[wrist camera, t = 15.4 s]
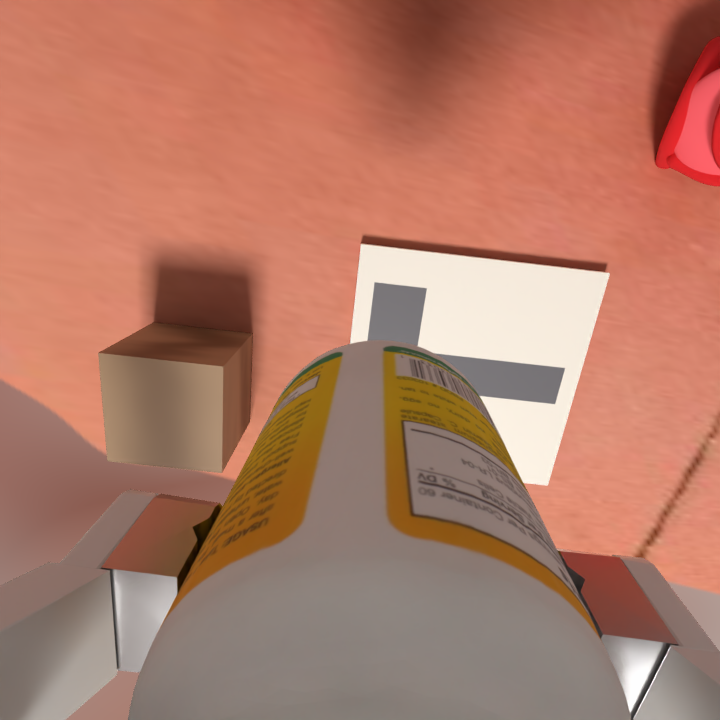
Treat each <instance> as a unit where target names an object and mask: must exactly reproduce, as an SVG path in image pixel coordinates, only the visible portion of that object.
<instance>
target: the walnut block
mask: <svg viewBox="0 0 720 720" xmlns="http://www.w3.org/2000/svg"><path fill="white" fill-rule="evenodd" d="M252 343H253V333H244V332H235V331H226V330H217V329H208V328H199V327H190V326H181V325H172V324H163V323H152V324H150V325H148V326H146V327H145V328H143V329H141V330H139V331H137V332H135V333H134V334H132V335H130V336H128V337H126V338H125V339H123V340H121V341H119V342H117V343H115V344H114V345H112V346H110V347H108V348H106V349H105V350H103V351H101V352H99V353H98V355H99V367H100V379H101V391H102V403H103V415H104V427H105V439H106V450H107V461H111V462H121V463H131V464H140V465H150V466H159V467H169V468H178V469H188V470H198V471H207V472H217V473H222V472H223V470H224V468H225V467H226V465H227V463H228V461H229V459H230V457H231V455H232V454H233V452H234V450H235V448H236V446H237V444H238V443H239V441H240V439H241V437H242V435H243V433H244V432H245V430H246V428H247V426H248V424H249V422H250V402H251V372H252Z"/></svg>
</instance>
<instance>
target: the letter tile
mask: <svg viewBox="0 0 720 720" xmlns="http://www.w3.org/2000/svg"><path fill="white" fill-rule="evenodd" d="M609 275H610V273H607V272H602V271H594V270H585V269H577V268H568V267H560V266H551V265H543V264H534V263H526V262H517V261H508V260H500V259H491V258H483V257H474V256H466V255H457V254H449V253H440V252H432V251H423V250H415V249H406V248H397V247H389V246H380V245H372V244H363V243H361V249H360V258H359V267H358V276H357V285H356V294H355V304H354V313H353V322H352V331H351V340H350V344H351V343H356V342H362V341H373V340H384V341H396V342H402V343H408V344H412V345H415V346H418V347H421V348H424V349H426V350H428V351H430V352H432V353H434V354H436V355H438V356H440V357H442V358H443V359H444V360H446V361H447V362H449V363H450V364H451V365H453V366H454V367H455V368H456V369H457V370H459V371H460V372H461V373H462V374H463V375H464V376H465V377H466V378H467V379H468V380H469V382H470V383H471V384H472V385H473V387H474V388H475V390H476V391H477V393H478V395H479V396H480V398H481V399H482V401H483V403H484V405H485V407H486V409H487V410H488V412H489V414H490V416H491V418H492V420H493V422H494V424H495V426H496V428H497V430H498V432H499V434H500V436H501V438H502V440H503V442H504V444H505V446H506V449H507V451H508V453H509V455H510V457H511V459H512V461H513V463H514V465H515V467H516V469H517V471H518V473H519V475H520V477H521V479H522V481H523V483H529V484H539V485H548V483H549V479H550V476H551V473H552V469H553V466H554V462H555V459H556V456H557V452H558V449H559V445H560V442H561V438H562V435H563V432H564V428H565V425H566V421H567V418H568V415H569V411H570V408H571V404H572V401H573V398H574V394H575V391H576V387H577V384H578V380H579V377H580V374H581V370H582V367H583V363H584V360H585V357H586V353H587V350H588V346H589V343H590V339H591V336H592V333H593V329H594V326H595V322H596V319H597V316H598V312H599V309H600V305H601V302H602V299H603V295H604V292H605V288H606V285H607V281H608V278H609Z"/></svg>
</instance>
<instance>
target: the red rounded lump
mask: <svg viewBox="0 0 720 720" xmlns="http://www.w3.org/2000/svg"><path fill="white" fill-rule="evenodd" d="M655 163H656V165H657V166H658V167H659V168H663V169H667V168H672V169H674V170H676V171H678V172H680V173H682V174H684V175H686V176H688V177H690V178H692V179H694V180H696V181H698V182H700V183H703V184H707V185H712V186H720V36H719V37H715V38H713V39H712V40H711V41H709V42H708V44H707V45H706V47H705V48H704V50H703V52H702V53H701V55H700V57H699V59H698V61H697V62H696V64H695V66H694V68H693V70H692V72H691V74H690V76H689V78H688V80H687V82H686V84H685V86H684V88H683V90H682V93H681V95H680V97H679V99H678V102H677V104H676V106H675V108H674V111H673V113H672V115H671V118H670V120H669V122H668V125H667V127H666V129H665V132H664V134H663V137H662V139H661V142H660V145H659V148H658V152H657V156H656V161H655Z"/></svg>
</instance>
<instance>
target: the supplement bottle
mask: <svg viewBox="0 0 720 720" xmlns="http://www.w3.org/2000/svg"><path fill="white" fill-rule="evenodd" d="M128 720H631V716H630V712H629V708H628V703H627V699H626V696H625V693H624V690H623V688H622V685H621V683H620V680H619V678H618V675H617V672H616V670H615V668H614V665H613V663H612V661H611V659H610V657H609V655H608V653H607V651H606V649H605V647H604V645H603V643H602V640H601V638H600V636H599V634H598V632H597V630H596V628H595V625H594V623H593V621H592V618H591V616H590V614H589V612H588V610H587V608H586V607H585V605H584V604H583V602H582V600H581V598H580V595H579V593H578V591H577V589H576V587H575V585H574V583H573V581H572V579H571V577H570V575H569V573H568V571H567V569H566V568H565V566H564V564H563V562H562V559H561V557H560V555H559V553H558V551H557V549H556V547H555V545H554V543H553V541H552V539H551V537H550V535H549V533H548V531H547V529H546V527H545V525H544V523H543V521H542V519H541V517H540V514H539V512H538V511H537V509H536V507H535V505H534V503H533V501H532V499H531V497H530V495H529V493H528V491H527V489H526V487H525V485H524V483H523V481H522V479H521V477H520V475H519V473H518V471H517V469H516V467H515V465H514V463H513V461H512V459H511V457H510V455H509V453H508V451H507V449H506V446H505V444H504V442H503V440H502V438H501V436H500V434H499V432H498V430H497V428H496V426H495V424H494V422H493V420H492V418H491V416H490V414H489V412H488V410H487V409H486V407H485V405H484V403H483V401H482V399H481V398H480V396H479V395H478V393H477V391H476V390H475V388H474V387H473V385H472V384H471V383H470V382H469V380H468V379H467V378H466V377H465V376H464V375H463V374H462V373H461V372H460V371H459V370H457V369H456V368H455V367H454V366H453V365H451V364H450V363H449V362H447V361H446V360H444V359H443V358H442V357H440V356H438V355H436V354H434V353H432V352H430V351H428V350H426V349H424V348H421V347H418V346H415V345H412V344H408V343H402V342H396V341H384V340H373V341H362V342H356V343H351V344H348V345H345V346H341V347H338V348H335V349H333V350H330V351H328V352H326V353H324V354H322V355H321V356H319V357H317V358H316V359H314V360H313V361H312V362H310V363H309V364H308V365H307V366H306V367H304V368H303V369H302V370H301V371H300V372H299V373H298V374H297V375H296V376H295V377H294V378H293V379H292V380H291V381H290V383H289V384H288V385H287V386H286V388H285V389H284V390H283V392H282V393H281V395H280V397H279V399H278V401H277V403H276V405H275V406H274V408H273V410H272V412H271V414H270V416H269V418H268V420H267V422H266V424H265V426H264V427H263V429H262V431H261V433H260V435H259V437H258V439H257V441H256V443H255V445H254V447H253V449H252V451H251V453H250V455H249V457H248V459H247V461H246V463H245V464H244V466H243V468H242V470H241V472H240V474H239V476H238V478H237V480H236V482H235V484H234V486H233V488H232V489H231V492H230V493H229V495H228V497H227V499H226V501H225V503H224V505H223V507H222V509H221V511H220V513H219V515H218V517H217V519H216V521H215V522H214V524H213V526H212V528H211V530H210V532H209V534H208V536H207V538H206V539H205V541H204V543H203V545H202V547H201V549H200V551H199V553H198V555H197V557H196V559H195V561H194V563H193V565H192V567H191V569H190V571H189V573H188V575H187V577H186V579H185V581H184V582H183V584H182V586H181V588H180V590H179V592H178V594H177V596H176V598H175V600H174V602H173V603H172V605H171V607H170V609H169V611H168V613H167V615H166V617H165V619H164V621H163V623H162V625H161V627H160V629H159V631H158V633H157V634H156V636H155V638H154V640H153V642H152V644H151V647H150V649H149V652H148V654H147V656H146V659H145V661H144V664H143V666H142V668H141V671H140V674H139V677H138V679H137V682H136V685H135V689H134V692H133V697H132V701H131V706H130V712H129V717H128Z"/></svg>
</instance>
